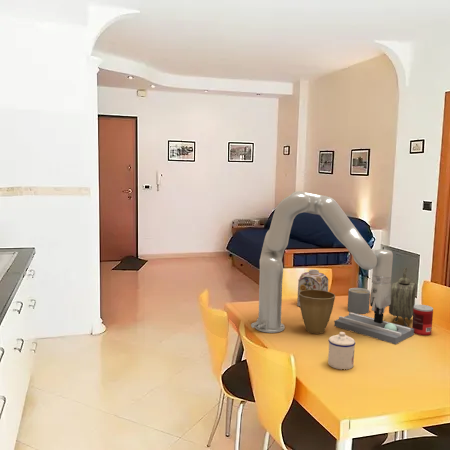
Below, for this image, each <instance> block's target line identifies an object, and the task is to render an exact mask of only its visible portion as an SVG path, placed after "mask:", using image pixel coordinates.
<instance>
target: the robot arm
mask: <svg viewBox="0 0 450 450" xmlns="http://www.w3.org/2000/svg"><path fill="white" fill-rule="evenodd" d="M302 213H307V214H313V215H318V216H320V217H321V219H322V220H323V221H324V223H325V224H326V225H327V227H328V228H329V229H330V230H331V232H332V233H333V235H334V236H335V237H336V239H337V240H338V241H339V242H340V243H341V244H342V245H343V246H344V247H345V248H346V249H347V251H348V252H349V253H350V254H351V256H352V257H353V261H354V262H355V263H356V264H357V265H358V266H359V267H360V268H361V269H363V270H366V271H369V270H372V275H371V276H372V277H371V289H370V303H369V307H371V311H373V313H374V314H373V315H374V317H373V318H374V322H376V323H380V324H381V323H383V321H384V313H385V311H386V310H385V309H386V308H387V307H389V305H390V304H391V286H392V272H393V271H392V270H393V259H394V254H393V251H391V250H388V249H372V248H371V247H370V245H369V244H368V242H367V241H366V240H365V238H363V236H362V235H361V233H360V232H359V230H358V229H357V228H356V227H355V224H353V223H352V221H351V220H350V218H349V217H348V216H347V214H346V212H345V211H344V210H343V209H342V207H341V206H340V204H339V203H338V202H337V201H336V200H335V199H334V198H333V197H331V196H328V195H321V194H316V193H311V192H307V191H306V192H305V191H300V190H298V191H297V190H296V191H294V192H292V193H291V194H290V195H289V196H286V197H285V198H283V199H282V200H281V201H280V202H279V203H278V204H277V206H276V207H275V208H274V213H273V214H272V215H273V216H272V218H271V223H270V227H269V229H268V230H267V232H266V233H265V236H264V240H263V244H262V247H261V253H260V258H259V282H258V284H259V285H258V287H259V289H258V318H256V321H255V322H252V323H251V324H250V326H251V329H255V330H257V331H259V332H261V333H262V332H263V333H268V334H269V333H270V334H273V333H280V332H283V331H284V330H285V324H284V323H282V301H283V298H282V297H283V277H284V264H283V257H284V253H285V249H287V247H288V245H289V239H290V234H291V230H292V227H293V223H294V219H295V218H296V217H297V215H299V214H302Z"/></svg>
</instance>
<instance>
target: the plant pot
mask: <svg viewBox="0 0 450 450" xmlns="http://www.w3.org/2000/svg"><path fill="white" fill-rule="evenodd" d="M335 299H336V294H335V293H333V292H330V291H329V290H328V291H322V290H303V291H300V292H299V300H300V306H299V308H300V311H301V312H300V313H301V318H302V321H303V324H304V329H305V331H306V332H308V333H309V334H310V333H311V334H317V335H318V334H319V335H320V334H324V332H325V331H326V328H327V326H328V323H329V321H330V318H331V315H332V312H333V308H334V304H335Z"/></svg>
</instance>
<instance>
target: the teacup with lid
mask: <svg viewBox="0 0 450 450" xmlns="http://www.w3.org/2000/svg"><path fill="white" fill-rule="evenodd" d="M327 342H328V356H327V358H328V360H327V362H328V365H329V366H330V367H332V368H333V369H336V370H342V369H344V371H345V369H346V370H349V369H350V370H351V369H352V368H353V367H354V366H355V365H354V362H355V361H354V359H355V345H356V340H355V339H354V338H352V337H351V336H349V335H346V332H343V331H340V332H339V334H336V335H334V334H333V335H332V336H330V337H329V338H328V341H327Z"/></svg>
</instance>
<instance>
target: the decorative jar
mask: <svg viewBox="0 0 450 450" xmlns="http://www.w3.org/2000/svg"><path fill="white" fill-rule="evenodd" d="M319 271H320V270H318V269H315V268H314V269H309V270H308V271H306V272H305V271H304V272H302V273H301V275H300V276H299V279H298V285H297V304H296V305H297V307H300V300H299V292H300V291H303V290H322V291H328V292H329V278H328V276H327V275H326V274H324V273H322V272H319Z"/></svg>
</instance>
